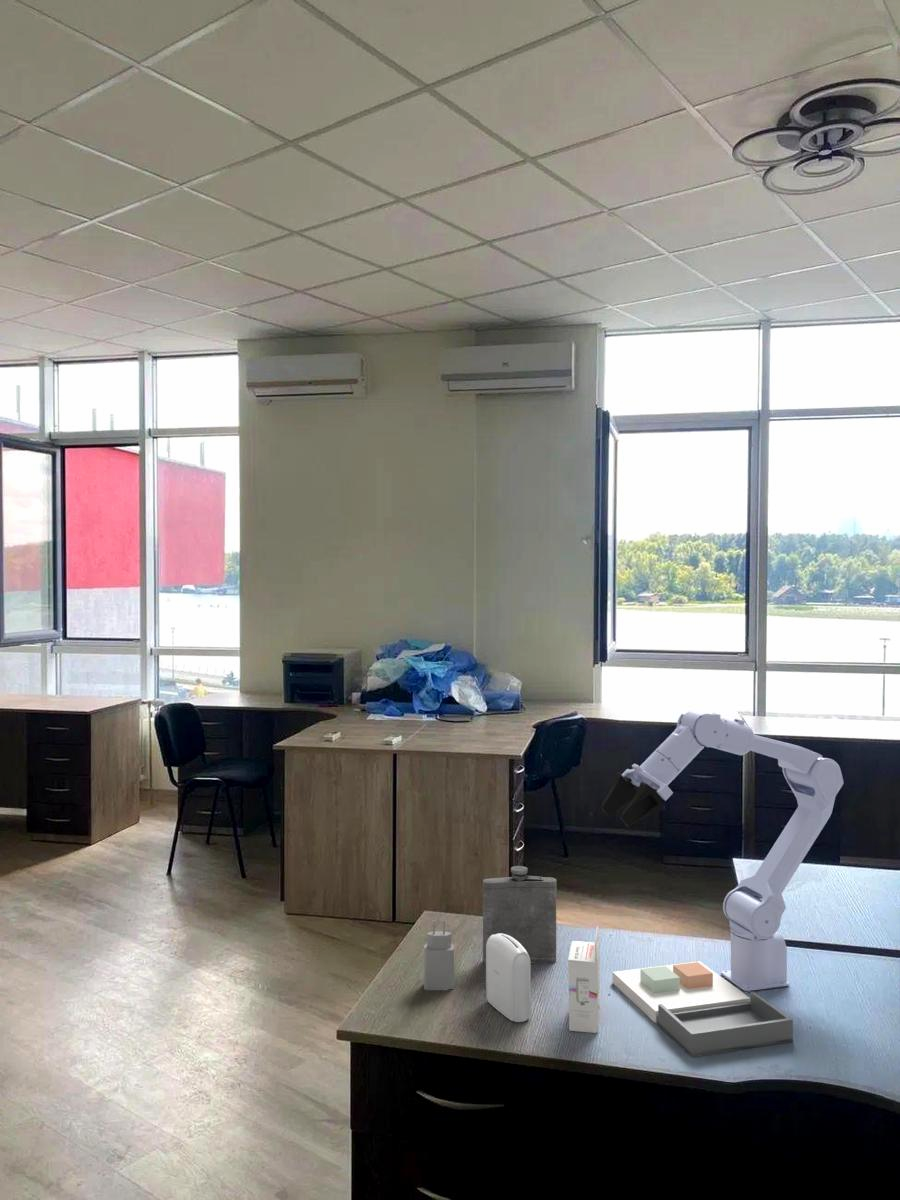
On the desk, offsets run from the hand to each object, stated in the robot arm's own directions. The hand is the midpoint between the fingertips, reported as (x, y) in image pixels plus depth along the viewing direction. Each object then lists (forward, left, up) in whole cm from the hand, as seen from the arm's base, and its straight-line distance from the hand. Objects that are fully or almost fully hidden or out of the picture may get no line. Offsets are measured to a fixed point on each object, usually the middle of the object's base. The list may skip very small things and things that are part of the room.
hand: (613, 816), depth 155 cm
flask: (+10, -20, -32) cm, 39 cm away
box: (-12, +16, -32) cm, 38 cm away
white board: (-12, +2, -32) cm, 34 cm away
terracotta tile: (-15, +2, -30) cm, 33 cm away
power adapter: (+28, -13, -32) cm, 45 cm away
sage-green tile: (-8, +2, -30) cm, 31 cm away
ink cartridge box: (+8, +6, -32) cm, 34 cm away
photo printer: (+19, -1, -32) cm, 38 cm away
